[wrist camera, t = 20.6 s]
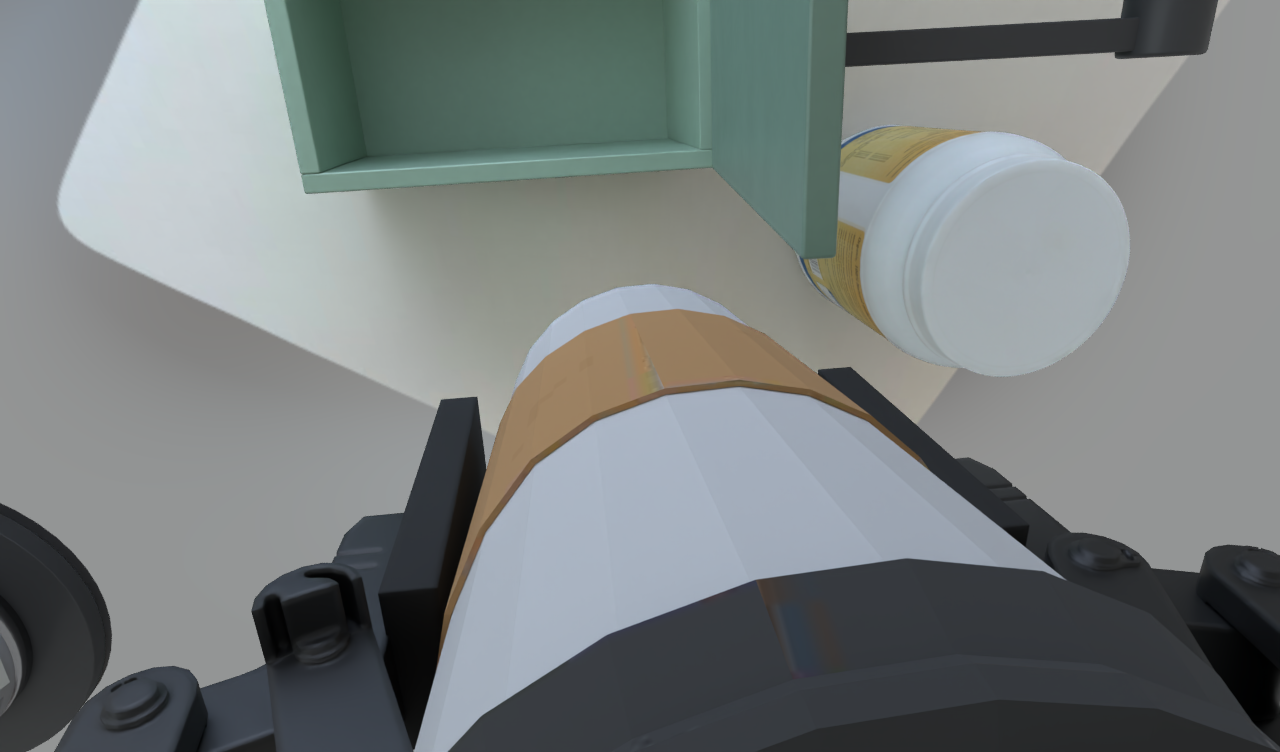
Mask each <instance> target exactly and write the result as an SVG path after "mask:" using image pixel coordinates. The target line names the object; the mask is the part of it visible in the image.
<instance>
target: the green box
mask: <svg viewBox="0 0 1280 752" xmlns="http://www.w3.org/2000/svg"><path fill="white" fill-rule="evenodd" d="M264 3H265V7H266V12H267V17H268V22H269V26H270V31H271V36H272V41H273V45H274V50H275V55H276V59H277V64H278V69H279V74H280V78H281V83H282V88H283V92H284V97H285V102H286V107H287V111H288V116H289V121H290V125H291V130H292V135H293V140H294V144H295V149H296V154H297V159H298V163H299V168H300V173H301V174H303V175H302V176H301V177H302V182H303V186H304V191H305V193H306V194H313V193H329V192H344V191H359V190H375V189H390V188H406V187H421V186H436V185H452V184H467V183H483V182H498V181H513V180H529V179H544V178H560V177H575V176H591V175H606V174H621V173H637V172H652V171H668V170H683V169H698V168H713V167H712V106H711V33H710V0H264Z"/></svg>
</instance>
